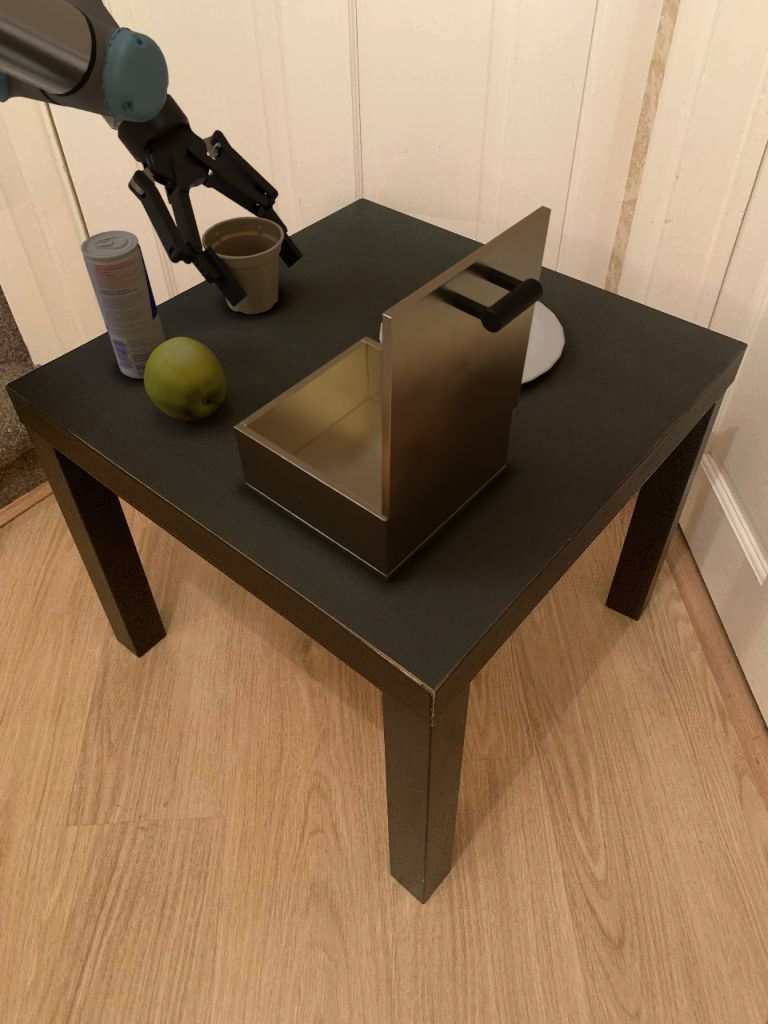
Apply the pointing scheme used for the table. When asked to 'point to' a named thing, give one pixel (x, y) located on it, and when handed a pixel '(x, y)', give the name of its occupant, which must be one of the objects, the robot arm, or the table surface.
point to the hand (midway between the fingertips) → (268, 280)
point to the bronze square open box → (354, 464)
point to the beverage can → (124, 298)
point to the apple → (184, 379)
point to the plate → (539, 343)
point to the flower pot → (249, 258)
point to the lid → (457, 357)
